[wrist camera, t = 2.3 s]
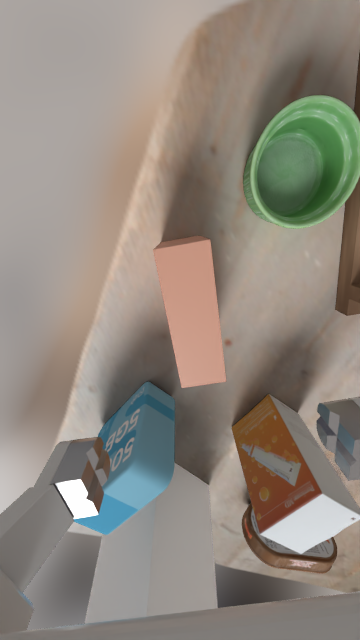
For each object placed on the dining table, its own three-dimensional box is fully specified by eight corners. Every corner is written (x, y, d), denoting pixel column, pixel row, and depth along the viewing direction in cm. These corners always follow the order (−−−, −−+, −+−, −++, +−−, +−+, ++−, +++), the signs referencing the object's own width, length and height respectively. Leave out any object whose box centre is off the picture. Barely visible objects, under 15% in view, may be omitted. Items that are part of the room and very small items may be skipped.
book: (198, 235, 24) (210, 239, 16) (211, 336, 28) (226, 381, 20) (161, 242, 24) (153, 249, 16) (180, 341, 29) (181, 388, 20)
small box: (268, 392, 32) (324, 493, 20) (298, 412, 33) (368, 518, 21) (229, 427, 34) (258, 536, 22) (259, 445, 36) (302, 556, 24)
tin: (236, 504, 41) (250, 569, 34) (241, 493, 40) (257, 557, 32) (312, 514, 43) (342, 578, 35) (319, 503, 42) (352, 567, 34)
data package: (150, 376, 30) (135, 461, 19) (175, 393, 32) (175, 483, 21) (100, 427, 34) (63, 525, 23) (125, 441, 35) (101, 541, 24)
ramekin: (250, 241, 24) (265, 244, 20) (225, 146, 21) (237, 127, 17) (336, 207, 23) (370, 203, 19) (323, 101, 20) (361, 69, 16)
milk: (161, 515, 42) (141, 899, 18) (112, 488, 39) (8, 908, 15) (208, 485, 39) (261, 898, 15) (159, 452, 36) (126, 910, 12)
